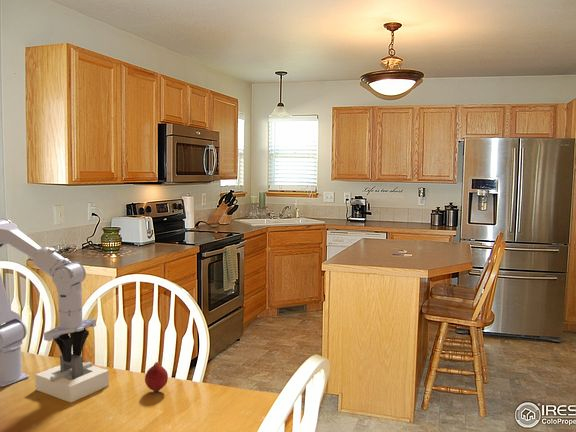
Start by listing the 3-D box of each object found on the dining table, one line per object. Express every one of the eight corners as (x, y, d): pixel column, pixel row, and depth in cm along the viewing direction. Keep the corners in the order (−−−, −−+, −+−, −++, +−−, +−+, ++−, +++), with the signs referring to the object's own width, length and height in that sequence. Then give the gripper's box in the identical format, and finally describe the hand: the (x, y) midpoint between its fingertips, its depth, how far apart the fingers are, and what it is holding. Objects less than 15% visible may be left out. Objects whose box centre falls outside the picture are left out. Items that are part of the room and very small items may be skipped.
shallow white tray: (35, 389, 139) (35, 371, 139) (74, 374, 150) (74, 357, 149) (70, 402, 132) (70, 383, 132) (109, 385, 143) (108, 367, 142)
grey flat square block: (60, 375, 141) (59, 355, 141) (68, 372, 143) (67, 352, 143) (75, 379, 138) (74, 359, 138) (83, 376, 140) (82, 356, 140)
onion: (162, 397, 136) (161, 367, 135) (141, 395, 137) (140, 365, 136) (171, 388, 142) (171, 359, 141) (151, 385, 143) (151, 357, 142)
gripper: (55, 318, 130) (57, 371, 132) (103, 305, 143) (104, 353, 144) (37, 314, 134) (40, 366, 135) (85, 301, 146) (87, 348, 148)
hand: (72, 359), depth 140 cm, fingers closed on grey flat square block, 2 cm apart
